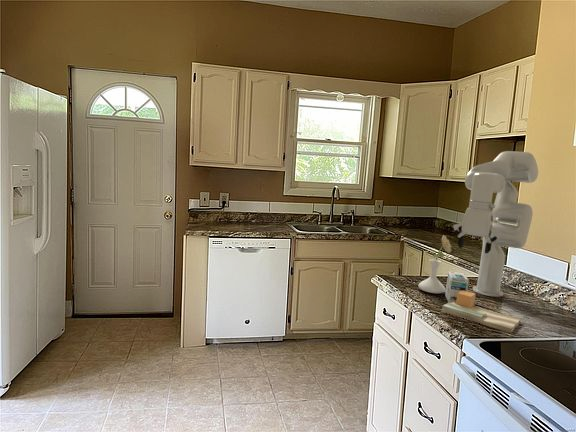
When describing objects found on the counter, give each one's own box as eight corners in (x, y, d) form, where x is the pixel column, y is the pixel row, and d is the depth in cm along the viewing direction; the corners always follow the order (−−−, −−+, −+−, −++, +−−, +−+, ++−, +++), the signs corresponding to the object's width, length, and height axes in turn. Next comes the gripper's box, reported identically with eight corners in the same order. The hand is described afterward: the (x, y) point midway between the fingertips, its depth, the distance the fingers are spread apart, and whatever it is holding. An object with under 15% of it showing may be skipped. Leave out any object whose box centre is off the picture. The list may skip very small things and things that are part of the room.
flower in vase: (432, 296, 183) (440, 238, 179) (412, 288, 192) (419, 232, 189) (453, 294, 189) (461, 237, 186) (432, 286, 199) (440, 232, 196)
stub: (461, 302, 173) (462, 290, 172) (474, 306, 170) (475, 293, 169) (455, 305, 168) (457, 293, 168) (469, 309, 165) (470, 296, 164)
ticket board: (454, 304, 175) (455, 298, 175) (520, 322, 160) (521, 316, 160) (441, 312, 164) (442, 305, 164) (510, 332, 149) (511, 325, 149)
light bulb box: (465, 305, 175) (469, 279, 174) (448, 303, 176) (451, 277, 175) (460, 297, 185) (464, 272, 184) (444, 295, 187) (447, 270, 185)
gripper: (507, 208, 162) (500, 253, 164) (460, 202, 173) (454, 244, 175) (501, 209, 156) (494, 256, 159) (453, 203, 167) (447, 246, 170)
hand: (473, 250), depth 167 cm, fingers open, 9 cm apart
